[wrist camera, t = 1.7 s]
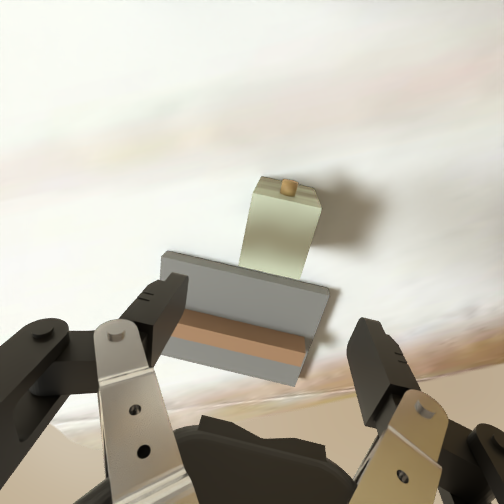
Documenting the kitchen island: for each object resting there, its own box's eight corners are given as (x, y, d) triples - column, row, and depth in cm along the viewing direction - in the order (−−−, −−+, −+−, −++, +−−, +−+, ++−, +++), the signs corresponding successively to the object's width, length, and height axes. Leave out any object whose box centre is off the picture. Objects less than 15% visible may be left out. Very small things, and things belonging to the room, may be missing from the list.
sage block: (263, 165, 25) (255, 178, 19) (316, 177, 25) (326, 194, 19) (249, 234, 28) (238, 266, 22) (296, 245, 28) (299, 280, 22)
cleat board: (166, 250, 30) (150, 267, 27) (327, 287, 30) (333, 310, 26) (160, 344, 36) (146, 369, 33) (294, 377, 36) (295, 405, 32)
